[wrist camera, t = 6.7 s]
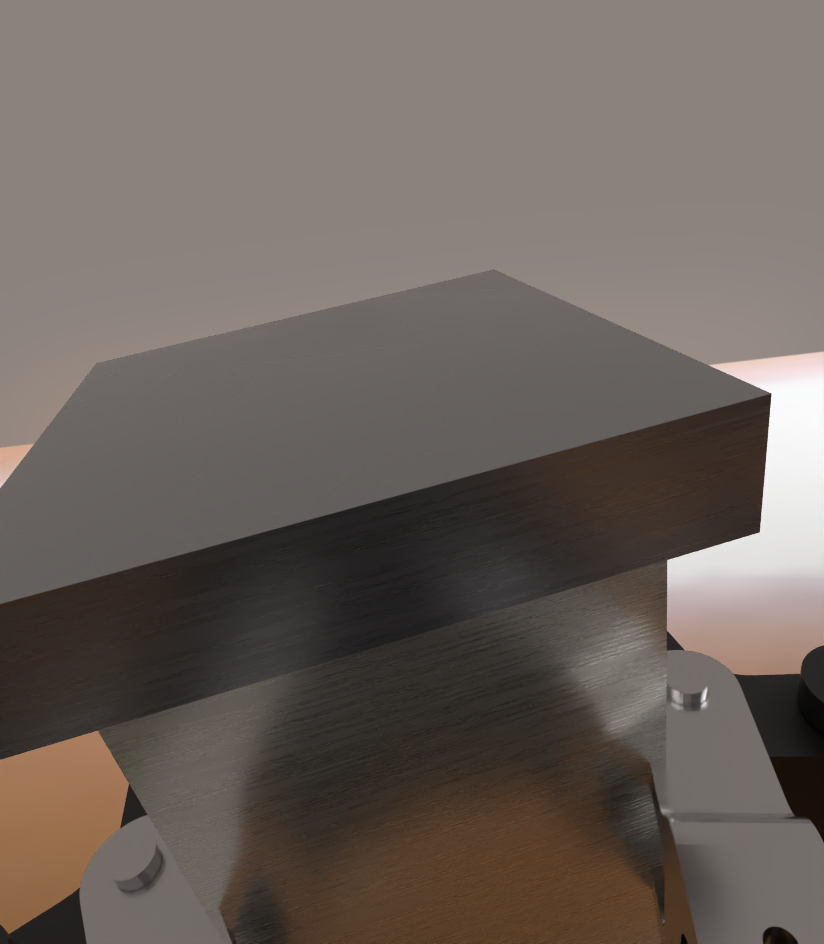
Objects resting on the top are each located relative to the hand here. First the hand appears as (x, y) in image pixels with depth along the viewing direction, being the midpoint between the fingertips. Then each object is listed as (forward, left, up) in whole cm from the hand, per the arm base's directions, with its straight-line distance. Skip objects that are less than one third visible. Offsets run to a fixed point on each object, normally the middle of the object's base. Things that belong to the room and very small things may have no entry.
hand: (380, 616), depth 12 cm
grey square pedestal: (+2, +2, -6) cm, 7 cm away
